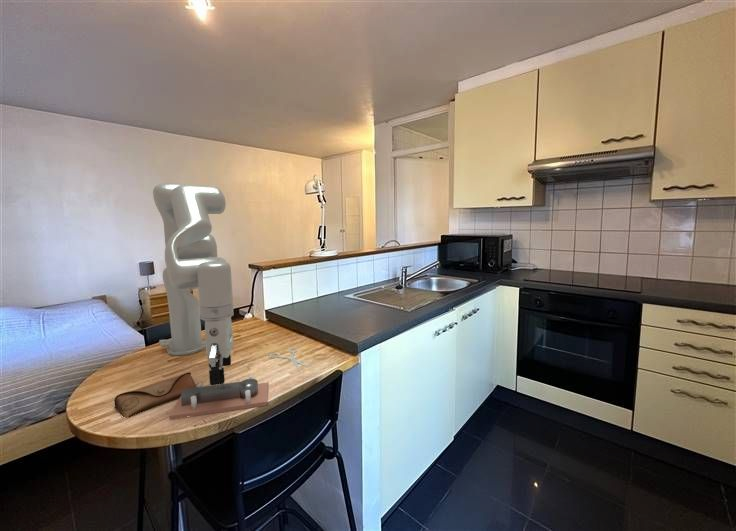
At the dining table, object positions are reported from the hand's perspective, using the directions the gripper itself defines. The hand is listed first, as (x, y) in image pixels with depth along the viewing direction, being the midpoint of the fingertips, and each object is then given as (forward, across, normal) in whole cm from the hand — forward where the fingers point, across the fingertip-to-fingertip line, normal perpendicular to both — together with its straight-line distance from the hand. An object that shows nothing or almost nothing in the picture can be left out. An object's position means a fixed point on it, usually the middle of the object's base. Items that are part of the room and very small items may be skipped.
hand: (221, 374), depth 80 cm
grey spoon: (+6, 0, 0) cm, 6 cm away
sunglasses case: (+8, +6, +16) cm, 19 cm away
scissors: (+8, +20, -18) cm, 28 cm away
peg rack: (+7, 0, 0) cm, 7 cm away
